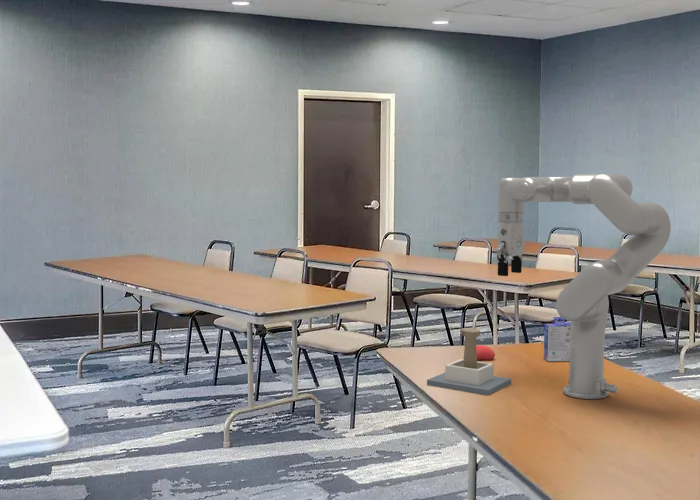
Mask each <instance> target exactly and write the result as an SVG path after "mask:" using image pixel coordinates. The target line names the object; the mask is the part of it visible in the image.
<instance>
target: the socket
mask: <svg viewBox="0 0 700 500" xmlns="http://www.w3.org/2000/svg"><path fill="white" fill-rule="evenodd" d="M494 366H495V364H494V363H491V362H490V363H489V362H482V361H477V368H476V369H472V368H465V367H464V358H463V359H462V358H460V359H457V360H454V361H453V362H450V363H447V364H445V365H444V367H445V368H444V372H443V373H440V374H439V375H435V376H433V377H430V378H428V379H426V385H427V386H431V387H437V388H443V389H449V390H453V391H454V390H455V391H459V392H461V391H462V392H465V393H466V392H467V393H470V394H471V393H472V394H476V395H477V394H478V395H483V396H490V395H491V394H494V393H495V392H498V391H500V390H502V389H504V388H506V387H508V386H510V385H512V380H513V379H512V378H508V377H501V376H497V375H495V374H494V372H495V371H494V368H495V367H494Z"/></svg>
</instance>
